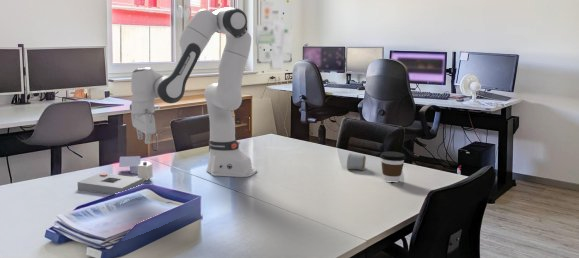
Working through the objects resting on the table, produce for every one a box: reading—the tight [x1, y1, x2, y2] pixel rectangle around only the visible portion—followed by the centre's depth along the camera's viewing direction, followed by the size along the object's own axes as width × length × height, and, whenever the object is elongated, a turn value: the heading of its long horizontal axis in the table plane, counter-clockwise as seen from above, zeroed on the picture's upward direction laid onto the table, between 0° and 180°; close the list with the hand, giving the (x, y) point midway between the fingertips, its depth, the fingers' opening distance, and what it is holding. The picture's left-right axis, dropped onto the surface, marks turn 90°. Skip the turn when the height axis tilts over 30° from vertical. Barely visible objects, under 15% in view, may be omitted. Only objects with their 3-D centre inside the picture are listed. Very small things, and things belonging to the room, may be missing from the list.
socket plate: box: [77, 172, 144, 195], centre depth 195 cm, size 20×14×4 cm
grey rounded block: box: [346, 152, 367, 171], centre depth 233 cm, size 11×8×8 cm
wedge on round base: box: [118, 155, 152, 175], centre depth 219 cm, size 9×7×13 cm
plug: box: [137, 162, 154, 183], centre depth 205 cm, size 4×4×8 cm
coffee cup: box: [379, 151, 407, 182], centre depth 213 cm, size 11×11×12 cm
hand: (143, 141), depth 203 cm, fingers open, 8 cm apart
